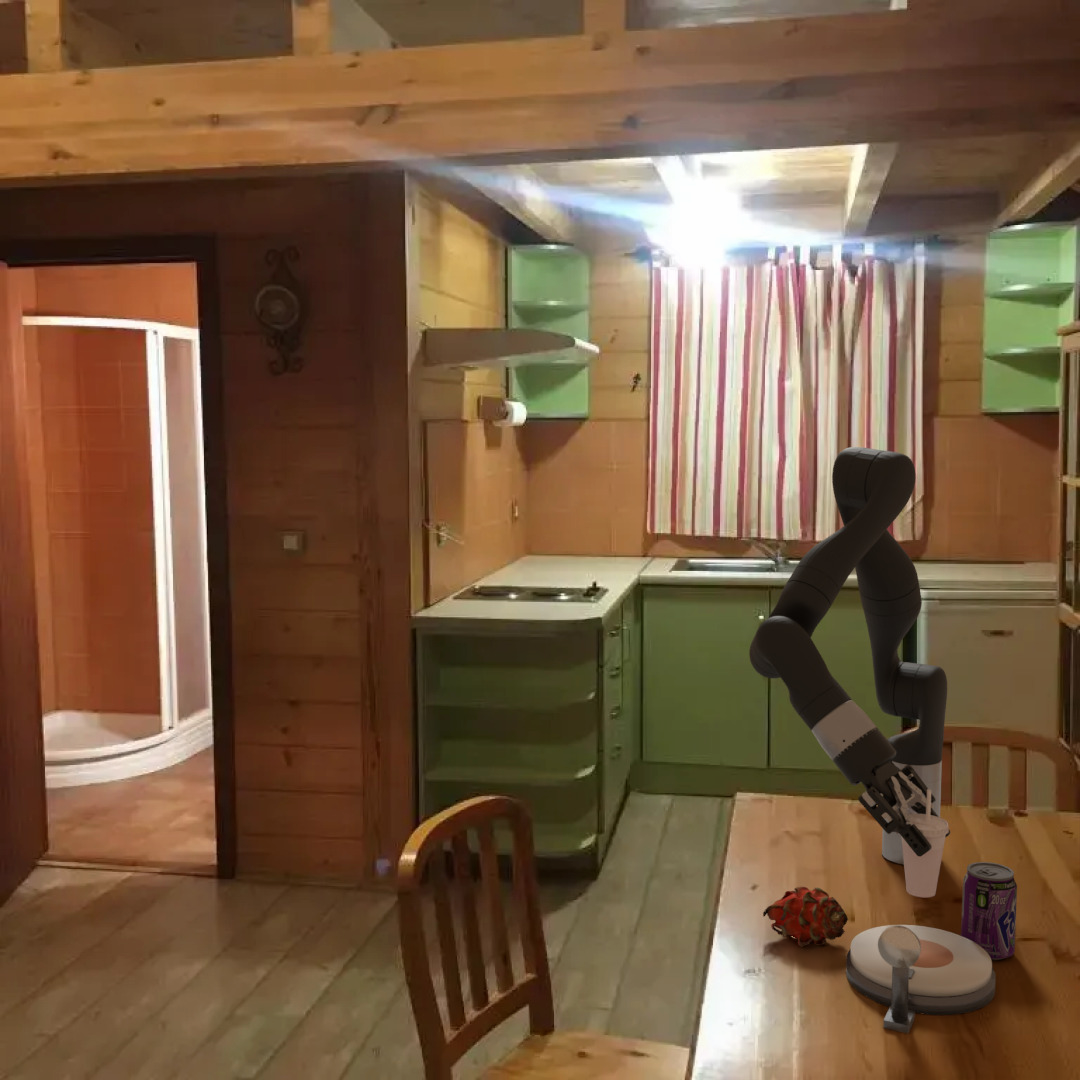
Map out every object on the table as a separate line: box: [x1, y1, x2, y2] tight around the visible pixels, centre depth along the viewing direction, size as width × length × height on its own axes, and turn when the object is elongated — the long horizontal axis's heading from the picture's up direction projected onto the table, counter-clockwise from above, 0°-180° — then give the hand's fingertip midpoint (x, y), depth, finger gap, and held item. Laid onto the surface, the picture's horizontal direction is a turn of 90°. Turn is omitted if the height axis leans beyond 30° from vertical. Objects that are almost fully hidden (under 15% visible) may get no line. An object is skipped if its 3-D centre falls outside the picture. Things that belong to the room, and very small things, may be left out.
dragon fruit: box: [762, 886, 849, 947], centre depth 177 cm, size 8×8×12 cm
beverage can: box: [960, 861, 1018, 961], centre depth 172 cm, size 7×7×12 cm
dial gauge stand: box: [878, 924, 921, 1034], centre depth 153 cm, size 5×5×13 cm
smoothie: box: [901, 789, 950, 898], centre depth 163 cm, size 6×6×14 cm
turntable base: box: [845, 948, 996, 1016], centre depth 165 cm, size 19×19×2 cm
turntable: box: [850, 924, 993, 997], centre depth 165 cm, size 18×18×2 cm
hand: (935, 844), depth 162 cm, fingers closed on smoothie, 6 cm apart
